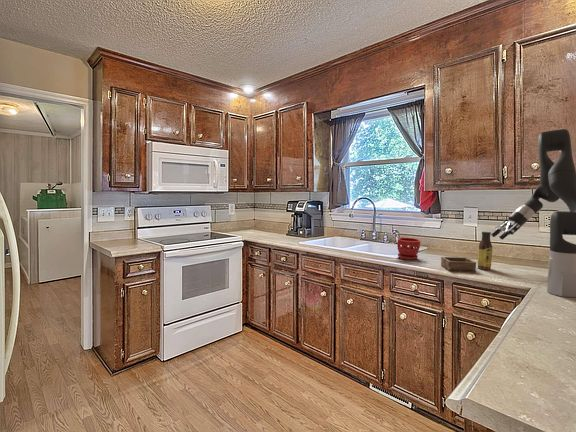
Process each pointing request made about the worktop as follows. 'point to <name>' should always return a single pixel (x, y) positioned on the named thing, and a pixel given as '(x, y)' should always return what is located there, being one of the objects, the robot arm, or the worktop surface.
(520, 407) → the worktop surface
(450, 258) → the brown wooden tray
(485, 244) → the sauce bottle
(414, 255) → the plant pot
